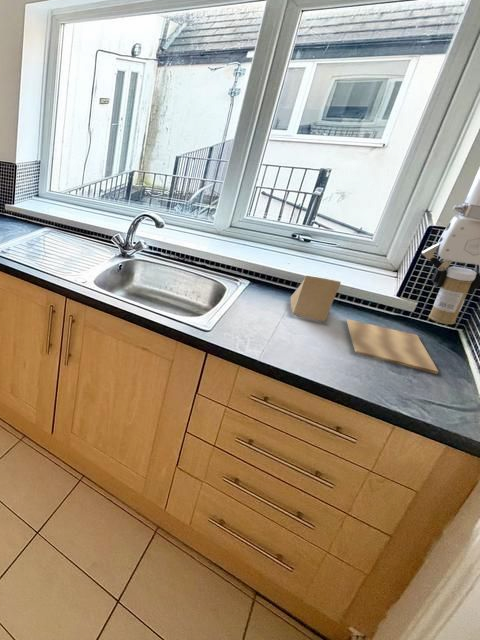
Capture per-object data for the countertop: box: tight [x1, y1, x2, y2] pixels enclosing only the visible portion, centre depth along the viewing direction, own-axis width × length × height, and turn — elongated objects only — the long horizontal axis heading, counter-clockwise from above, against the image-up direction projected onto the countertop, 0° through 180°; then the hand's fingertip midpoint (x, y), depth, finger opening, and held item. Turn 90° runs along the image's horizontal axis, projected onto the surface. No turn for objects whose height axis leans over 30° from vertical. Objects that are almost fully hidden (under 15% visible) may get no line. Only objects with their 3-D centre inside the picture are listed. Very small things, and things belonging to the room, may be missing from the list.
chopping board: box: [345, 318, 439, 375], centre depth 119 cm, size 16×22×2 cm
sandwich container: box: [290, 275, 341, 322], centre depth 136 cm, size 9×15×15 cm, turn 147°
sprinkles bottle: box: [428, 266, 477, 325], centre depth 100 cm, size 5×5×14 cm
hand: (452, 287), depth 100 cm, fingers closed on sprinkles bottle, 4 cm apart
